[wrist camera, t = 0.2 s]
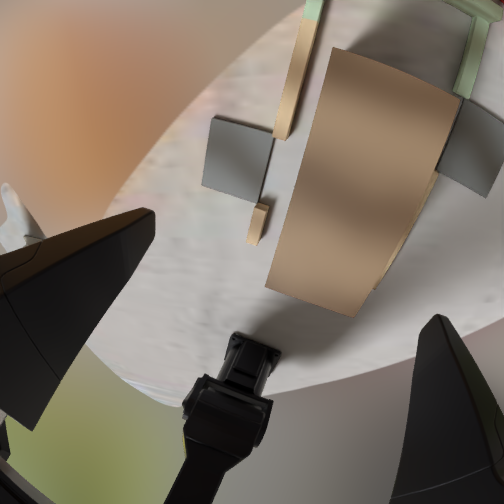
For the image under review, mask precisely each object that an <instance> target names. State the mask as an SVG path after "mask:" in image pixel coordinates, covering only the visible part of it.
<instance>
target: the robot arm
mask: <svg viewBox="0 0 504 504" xmlns="http://www.w3.org/2000/svg"><path fill="white" fill-rule="evenodd" d="M154 237H155V212H154V211H153V210H150V209H147V208H144V207H142V208H138V209H135V210H131V211H128V212H125V213H122V214H118V215H115V216H112V217H109V218H106V219H102V220H99V221H96V222H93V223H90V224H87V225H84V226H81V227H78V228H75V229H73V230H70V231H67V232H64V233H61V234H58V235H56V236H53V237H50V238H47V239H45V240H43V241H39V242H36V243H34V244H31V245H29V246H26V247H23V248H20V249H18V250H15V251H12V252H9V253H6V254H3V255H0V504H55V503H54V502H53V501H51V500H50V499H49V498H47V497H46V496H45V495H44V494H42V493H41V492H40V491H39V490H37V489H36V488H35V487H34V486H32V485H31V484H30V483H29V482H28V481H27V480H25V479H24V478H23V477H22V476H21V475H20V474H19V473H18V472H17V471H15V470H14V469H13V468H12V467H11V466H10V465H9V464H8V463H7V462H6V461H7V459H8V458H9V456H10V448H9V442H8V437H7V430H6V424H5V418H6V417H7V415H9V416H10V417H12V418H13V419H14V420H16V421H17V422H18V423H20V424H21V425H23V426H24V427H26V428H27V429H29V430H30V431H33V430H34V428H35V426H36V424H37V423H38V421H39V419H40V417H41V415H42V413H43V412H44V410H45V408H46V406H47V405H48V403H49V401H50V399H51V398H52V396H53V394H54V392H55V391H56V389H57V387H58V386H59V384H60V381H61V380H62V379H63V377H64V375H65V374H66V372H67V370H68V369H69V367H70V366H71V364H72V362H73V361H74V359H75V357H76V356H77V355H78V353H79V351H80V350H81V348H82V347H83V345H84V344H85V342H86V341H87V339H88V338H89V336H90V335H91V333H92V332H93V330H94V329H95V327H96V326H97V324H98V323H99V321H100V320H101V318H102V317H103V316H104V314H105V313H106V311H107V310H108V308H109V307H110V306H111V304H112V303H113V301H114V300H115V299H116V297H117V296H118V294H119V293H120V292H121V290H122V289H123V288H124V286H125V285H126V283H127V282H128V281H129V279H130V278H131V276H132V275H133V273H134V271H135V270H136V268H137V266H138V265H139V263H140V261H141V259H142V258H143V256H144V254H145V253H146V251H147V250H148V248H149V246H150V245H151V243H152V241H153V240H154ZM280 356H281V352H280V351H278V350H275V349H272V348H269V347H267V346H264V345H261V344H259V343H256V342H253V341H251V340H248V339H246V338H243V337H241V336H238V335H236V334H232V335H231V337H230V340H229V343H228V347H227V351H226V355H225V358H224V360H225V362H224V364H223V366H222V368H221V370H220V372H219V374H218V377H217V379H215V378H212V377H210V376H209V375H207V374H204V376H203V377H202V378H198V379H197V381H196V383H195V384H194V386H193V388H192V390H191V391H190V392H189V394H188V395H187V396H186V398H185V399H184V401H183V403H182V406H183V408H184V411H183V413H184V414H183V417H182V418H183V419H184V420H186V423H185V424H184V427H183V436H182V437H183V438H182V440H183V447H184V453H185V461H184V463H183V466H182V468H181V470H180V472H179V474H178V476H177V478H176V480H175V482H174V484H173V486H172V488H171V490H170V492H169V494H168V496H167V498H166V500H165V502H164V504H212V502H213V500H214V497H215V495H216V493H217V491H218V488H219V486H220V484H221V481H222V479H223V477H224V474H225V472H227V471H228V470H229V469H231V468H233V467H234V466H235V465H237V464H238V463H239V462H241V461H242V460H244V459H245V458H246V457H248V456H249V455H250V453H251V452H252V449H253V447H255V448H257V447H258V446H259V444H260V442H261V440H262V439H263V436H264V434H265V432H266V429H267V425H268V421H269V418H270V414H271V409H272V405H273V400H270V399H269V400H268V399H266V398H263V397H261V394H262V392H263V389H264V386H265V383H266V380H267V378H268V377H269V376H270V374H271V372H272V371H273V369H274V367H275V365H276V364H277V362H278V360H279V358H280ZM389 504H504V415H503V413H502V411H501V409H500V407H499V405H498V404H497V402H496V399H495V397H494V395H493V393H492V392H491V390H490V388H489V386H488V384H487V382H486V380H485V378H484V376H483V375H482V373H481V371H480V369H479V368H478V366H477V364H476V363H475V361H474V359H473V357H472V355H471V354H470V352H469V351H468V349H467V347H466V346H465V344H464V342H463V341H462V339H461V337H460V336H459V334H458V333H457V331H456V330H455V328H454V326H453V325H452V323H451V322H450V320H449V319H448V318H447V317H446V316H443V315H440V314H436V315H434V316H433V317H432V318H431V319H430V321H429V322H428V323H427V324H426V325H425V326H424V327H423V328H422V330H421V332H420V334H419V338H418V346H417V352H416V359H415V365H414V371H413V377H412V385H411V394H410V404H409V411H408V418H407V425H406V431H405V437H404V443H403V448H402V453H401V458H400V463H399V467H398V472H397V476H396V480H395V484H394V488H393V491H392V495H391V499H390V502H389Z"/></svg>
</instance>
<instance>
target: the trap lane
mask: <svg viewBox="0 0 504 504" xmlns="http://www.w3.org/2000/svg"><path fill="white" fill-rule="evenodd" d="M442 1H444V2H446V3H448V4H450V5H452V6H454V7H455V8H457V9H459V10H461V11H463V12H464V13H466V14H468V15H469V16H471V17H472V22H471V26H470V31H469V35H468V39H467V43H466V47H465V51H464V54H463V58H462V62H461V65H460V68H459V72H458V75H457V78H456V81H455V85H454V88H453V92H455V93H456V94H458V95H460V96H462V97H463V98H464V99H463V102H462V105H461V108H460V111H459V113H458V116H457V119H456V121H455V124H454V127H453V129H452V132H451V134H450V137H449V139H448V142H447V144H446V147H445V149H444V151H443V154H442V156H441V158H440V161H439V163H438V165H437V167H436V169H434V171H433V173H432V176H431V178H430V180H429V182H428V185H427V187H426V189H425V191H424V193H423V196H422V198H421V200H420V202H419V204H418V206H417V208H416V210H415V212H414V214H413V216H412V218H411V220H410V222H409V224H408V226H407V228H406V230H405V232H404V234H403V236H402V238H401V239H400V241H399V243H398V245H397V247H396V249H395V250H394V252H393V254H392V256H391V258H390V259H389V261H388V263H387V265H386V266H385V268H384V270H383V272H382V273H381V275H380V277H379V278H378V280H377V282H376V283H375V285H374V287H373V288H372V289H374V290H375V289H376V287H377V286H378V284H379V283H380V281H381V279H382V278H383V276H384V275H385V273H386V271H387V270H388V268H389V266H390V265H391V263H392V262H393V260H394V258H395V256H396V255H397V253H398V251H399V250H400V248H401V246H402V244H403V243H404V241H405V239H406V237H407V236H408V234H409V232H410V230H411V228H412V227H413V225H414V223H415V221H416V219H417V217H418V215H419V213H420V211H421V210H422V208H423V206H424V204H425V202H426V200H427V198H428V196H429V194H430V192H431V190H432V188H433V185H434V183H435V181H436V179H437V177H438V175H439V173H438V172H440V173H442V174H444V175H446V176H448V177H450V178H451V179H453V180H455V181H457V182H459V183H460V184H462V185H464V186H466V187H467V188H469V189H471V190H473V191H474V192H476V193H478V194H479V195H481V196H483V197H484V198H486V197H487V195H488V193H489V191H490V189H491V187H492V185H493V183H494V181H495V179H496V177H497V175H498V173H499V171H500V169H501V166H502V164H503V162H504V124H503V123H502V122H501V121H499V120H498V119H496V118H495V117H493V116H492V115H491V114H489V113H488V112H486V111H485V110H483V109H482V108H480V107H478V106H477V105H475V104H474V103H472V102H471V101H469V100H467V99H469V98H470V95H471V91H472V88H473V85H474V82H475V79H476V75H477V72H478V69H479V65H480V61H481V58H482V54H483V50H484V46H485V42H486V38H487V33H488V28H489V24H490V23H493V22H497V21H501V20H502V16H503V8H501V7H500V6H499V5H497V4H496V3H494V2H493V1H491V0H442ZM324 2H325V0H307V1H306V5H305V8H304V12H303V16H302V20H301V24H300V28H299V31H298V35H297V39H296V43H295V47H294V51H293V55H292V59H291V62H290V66H289V70H288V74H287V78H286V82H285V86H284V90H283V94H282V98H281V102H280V106H279V110H278V114H277V118H276V122H275V126H274V130H273V133H270V132H267V131H263V130H260V129H256V128H253V127H249V126H245V125H242V124H238V123H234V122H230V121H226V120H222V119H218V118H212V119H211V125H210V131H209V138H208V144H207V151H206V157H205V164H204V171H203V179H202V186H205V187H208V188H211V189H214V190H217V191H220V192H223V193H226V194H229V195H232V196H235V197H238V198H241V199H244V200H247V201H250V202H253V203H256V206H255V207H254V211H253V215H252V219H251V223H250V227H249V231H248V235H247V239H246V242H247V243H250V244H253V245H255V246H257V245H258V243H259V241H260V239H261V235H262V231H263V228H264V224H265V220H266V217H267V213H268V210H269V206H267V205H264V204H261V203H259V202H258V200H259V196H260V192H261V188H262V184H263V180H264V176H265V172H266V168H267V164H268V160H269V156H270V152H271V148H272V144H273V140H274V138H277V139H281V140H284V141H286V140H287V139H288V137H289V133H290V129H291V125H292V122H293V118H294V114H295V111H296V107H297V103H298V100H299V96H300V92H301V89H302V85H303V81H304V77H305V74H306V70H307V66H308V63H309V59H310V55H311V51H312V48H313V44H314V40H315V36H316V33H317V29H318V25H319V21H320V18H321V14H322V10H323V6H324ZM437 171H438V172H437Z"/></svg>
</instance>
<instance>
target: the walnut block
mask: <svg viewBox="0 0 504 504" xmlns="http://www.w3.org/2000/svg"><path fill="white" fill-rule="evenodd" d="M459 103H460V99H458V98H456V97H454V96H452V95H451V94H449V93H447V92H445V91H443V90H441V89H439V88H437V87H435V86H433V85H431V84H429V83H427V82H425V81H423V80H421V79H419V78H416V77H414V76H412V75H410V74H407V73H405V72H403V71H400V70H398V69H396V68H393V67H391V66H388V65H385V64H383V63H380V62H378V61H375V60H372V59H369V58H366V57H363V56H361V55H358V54H354V53H351V52H348V51H345V50H342V49H338V48H335V47H333V48H332V52H331V56H330V60H329V64H328V67H327V71H326V75H325V79H324V83H323V86H322V90H321V94H320V98H319V101H318V105H317V109H316V112H315V116H314V120H313V123H312V127H311V131H310V134H309V138H308V141H307V145H306V149H305V152H304V156H303V159H302V163H301V166H300V170H299V173H298V177H297V180H296V184H295V187H294V191H293V194H292V198H291V201H290V204H289V208H288V211H287V215H286V218H285V221H284V225H283V228H282V232H281V235H280V238H279V242H278V245H277V248H276V252H275V255H274V258H273V261H272V265H271V268H270V271H269V274H268V278H267V281H266V284H265V287H266V288H269V289H272V290H275V291H278V292H280V293H283V294H286V295H289V296H292V297H294V298H297V299H300V300H303V301H306V302H309V303H311V304H314V305H317V306H320V307H323V308H326V309H329V310H332V311H335V312H338V313H340V314H343V315H346V316H349V317H352V318H354V317H355V315H356V314H357V312H358V311H359V309H360V308H361V306H362V304H363V303H364V301H365V300H366V298H367V296H368V295H369V293H370V292H371V290H372V288H373V287H374V285H375V283H376V282H377V280H378V278H379V277H380V275H381V273H382V272H383V270H384V268H385V266H386V265H387V263H388V261H389V259H390V258H391V256H392V254H393V252H394V250H395V249H396V247H397V245H398V243H399V241H400V239H401V238H402V236H403V234H404V232H405V230H406V228H407V226H408V224H409V222H410V220H411V218H412V216H413V214H414V212H415V210H416V208H417V206H418V204H419V202H420V200H421V198H422V196H423V193H424V191H425V189H426V187H427V185H428V182H429V180H430V178H431V176H432V173H433V171H434V169H435V166H436V164H437V162H438V159H439V157H440V155H441V152H442V150H443V147H444V145H445V142H446V139H447V137H448V134H449V131H450V129H451V126H452V123H453V120H454V118H455V115H456V112H457V109H458V106H459Z"/></svg>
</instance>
